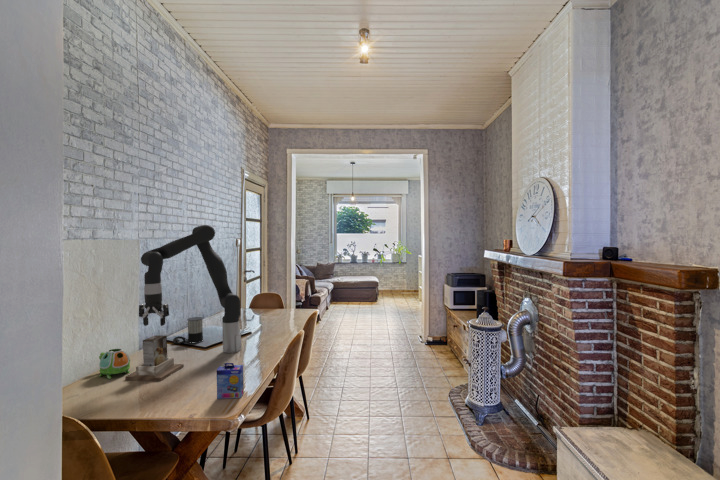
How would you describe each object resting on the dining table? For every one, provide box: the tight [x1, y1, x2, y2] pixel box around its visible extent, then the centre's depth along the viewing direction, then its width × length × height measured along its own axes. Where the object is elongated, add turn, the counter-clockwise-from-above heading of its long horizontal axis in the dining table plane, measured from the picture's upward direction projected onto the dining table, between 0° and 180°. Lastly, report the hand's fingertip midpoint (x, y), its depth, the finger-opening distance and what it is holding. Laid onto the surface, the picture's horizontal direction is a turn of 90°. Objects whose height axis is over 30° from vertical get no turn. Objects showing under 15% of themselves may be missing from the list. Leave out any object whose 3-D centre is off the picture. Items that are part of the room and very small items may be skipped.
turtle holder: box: [98, 347, 131, 380], centre depth 183 cm, size 12×18×12 cm
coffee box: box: [142, 334, 168, 366], centre depth 183 cm, size 9×6×16 cm
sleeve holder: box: [124, 357, 185, 382], centre depth 183 cm, size 18×18×6 cm
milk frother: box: [172, 316, 204, 345], centre depth 235 cm, size 14×16×15 cm
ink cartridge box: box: [215, 362, 245, 400], centre depth 155 cm, size 10×6×14 cm, turn 95°
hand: (154, 325), depth 182 cm, fingers open, 8 cm apart
